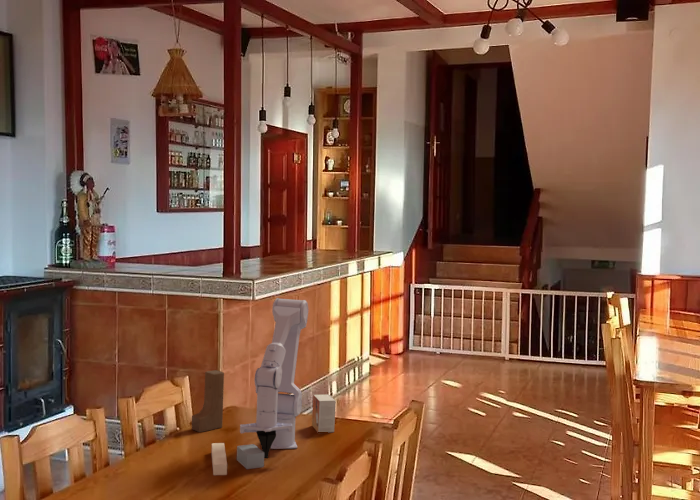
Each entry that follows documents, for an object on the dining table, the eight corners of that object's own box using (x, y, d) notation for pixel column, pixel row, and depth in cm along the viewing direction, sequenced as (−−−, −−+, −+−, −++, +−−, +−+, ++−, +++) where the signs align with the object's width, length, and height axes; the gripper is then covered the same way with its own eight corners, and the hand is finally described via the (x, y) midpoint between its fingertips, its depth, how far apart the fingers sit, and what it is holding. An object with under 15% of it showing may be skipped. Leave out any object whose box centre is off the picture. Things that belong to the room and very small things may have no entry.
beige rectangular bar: (211, 452, 220) (211, 443, 220) (223, 452, 221) (224, 443, 221) (213, 475, 202) (213, 464, 202) (226, 474, 203) (227, 464, 203)
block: (236, 459, 215) (237, 446, 215) (253, 457, 218) (253, 443, 217) (246, 469, 208) (247, 454, 208) (263, 466, 211) (264, 452, 210)
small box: (311, 425, 251) (312, 394, 250) (327, 425, 252) (329, 393, 252) (317, 433, 243) (319, 400, 242) (334, 432, 245) (336, 400, 244)
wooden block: (199, 432, 238) (200, 376, 237) (190, 429, 241) (192, 373, 240) (222, 427, 244) (224, 372, 243) (214, 424, 248) (216, 369, 246)
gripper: (241, 413, 208) (240, 462, 209) (294, 413, 211) (292, 461, 212) (240, 406, 215) (238, 454, 216) (291, 406, 218) (289, 452, 219)
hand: (265, 457), depth 214 cm, fingers closed
